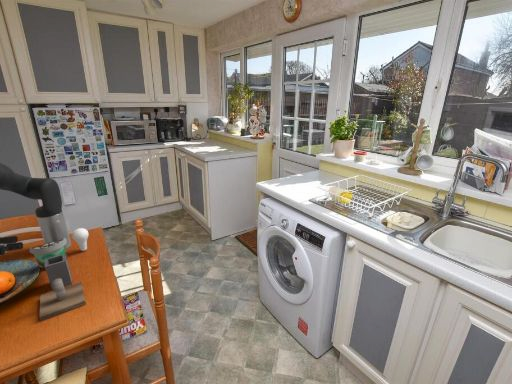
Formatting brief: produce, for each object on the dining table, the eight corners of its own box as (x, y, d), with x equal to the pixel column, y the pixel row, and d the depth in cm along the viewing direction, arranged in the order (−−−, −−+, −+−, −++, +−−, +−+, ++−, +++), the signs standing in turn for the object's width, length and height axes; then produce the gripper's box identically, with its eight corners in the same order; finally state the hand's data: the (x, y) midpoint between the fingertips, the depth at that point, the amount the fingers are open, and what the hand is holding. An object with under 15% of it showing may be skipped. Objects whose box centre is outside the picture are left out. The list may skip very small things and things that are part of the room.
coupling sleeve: (52, 281, 100) (44, 259, 96) (71, 275, 103) (64, 253, 100) (52, 290, 95) (44, 267, 92) (72, 283, 98) (65, 261, 95)
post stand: (41, 298, 91) (34, 278, 88) (82, 285, 98) (77, 265, 95) (40, 321, 82) (33, 299, 79) (85, 304, 89) (80, 283, 86)
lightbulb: (84, 254, 117) (79, 232, 113) (72, 253, 118) (67, 231, 114) (95, 247, 122) (90, 226, 119) (83, 246, 123) (78, 225, 120)
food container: (36, 275, 103) (28, 253, 100) (35, 268, 108) (28, 246, 104) (73, 263, 111) (67, 242, 108) (71, 256, 115) (65, 236, 112)
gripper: (-56, 245, 70) (24, 236, 83) (-57, 233, 79) (15, 226, 92) (-55, 272, 71) (25, 259, 83) (-56, 257, 80) (15, 247, 92)
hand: (20, 242), depth 88 cm, fingers open, 8 cm apart
